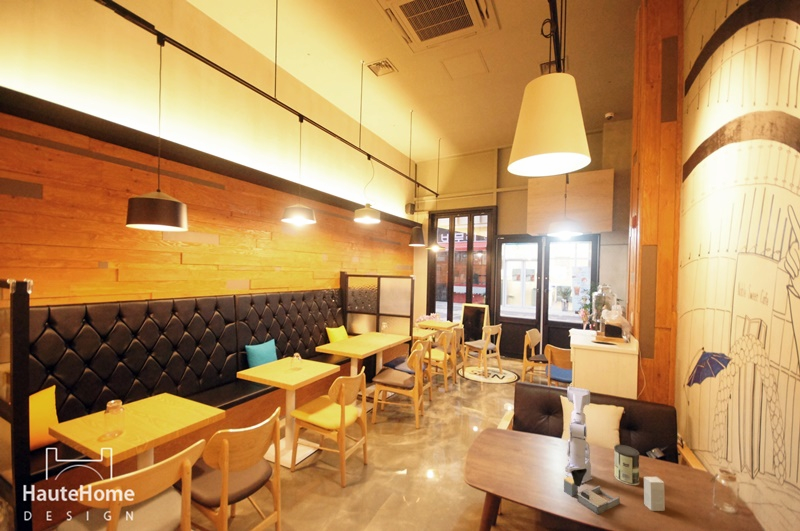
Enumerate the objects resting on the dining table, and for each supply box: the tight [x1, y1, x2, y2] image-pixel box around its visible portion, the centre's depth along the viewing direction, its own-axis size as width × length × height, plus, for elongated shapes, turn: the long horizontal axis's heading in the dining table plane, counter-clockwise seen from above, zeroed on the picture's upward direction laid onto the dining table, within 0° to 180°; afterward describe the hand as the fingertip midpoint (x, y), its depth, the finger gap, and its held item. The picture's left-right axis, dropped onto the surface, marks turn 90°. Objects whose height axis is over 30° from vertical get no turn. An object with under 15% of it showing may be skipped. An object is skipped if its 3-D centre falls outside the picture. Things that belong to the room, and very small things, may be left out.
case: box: [577, 485, 621, 515], centre depth 145 cm, size 16×9×3 cm, turn 117°
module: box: [563, 476, 579, 498], centre depth 151 cm, size 4×4×6 cm
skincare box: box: [643, 476, 666, 512], centre depth 142 cm, size 6×4×12 cm
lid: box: [577, 488, 609, 507], centre depth 143 cm, size 7×9×2 cm
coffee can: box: [613, 444, 640, 486], centre depth 163 cm, size 10×10×14 cm
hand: (577, 485), depth 141 cm, fingers closed
